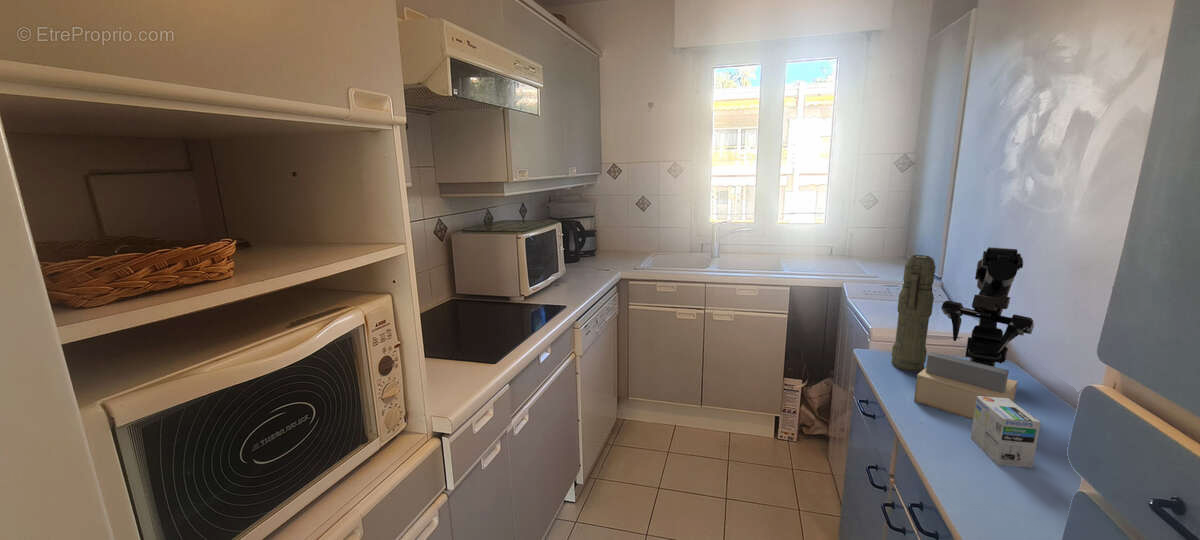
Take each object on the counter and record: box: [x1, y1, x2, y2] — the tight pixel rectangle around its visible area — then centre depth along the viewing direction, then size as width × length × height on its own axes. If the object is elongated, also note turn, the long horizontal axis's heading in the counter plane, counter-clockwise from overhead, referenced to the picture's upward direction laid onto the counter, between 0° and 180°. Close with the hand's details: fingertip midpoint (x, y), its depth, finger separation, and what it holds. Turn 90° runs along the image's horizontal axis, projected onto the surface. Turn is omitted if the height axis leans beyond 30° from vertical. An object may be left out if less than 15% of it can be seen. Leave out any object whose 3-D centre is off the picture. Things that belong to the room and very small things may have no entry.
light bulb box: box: [970, 396, 1042, 469], centre depth 102 cm, size 11×7×11 cm, turn 168°
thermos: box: [891, 254, 936, 373], centre depth 144 cm, size 9×12×35 cm
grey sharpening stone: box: [916, 351, 1011, 398], centre depth 119 cm, size 7×18×6 cm, turn 40°
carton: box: [913, 376, 1019, 421], centre depth 122 cm, size 14×18×8 cm
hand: (975, 346), depth 123 cm, fingers open, 9 cm apart
